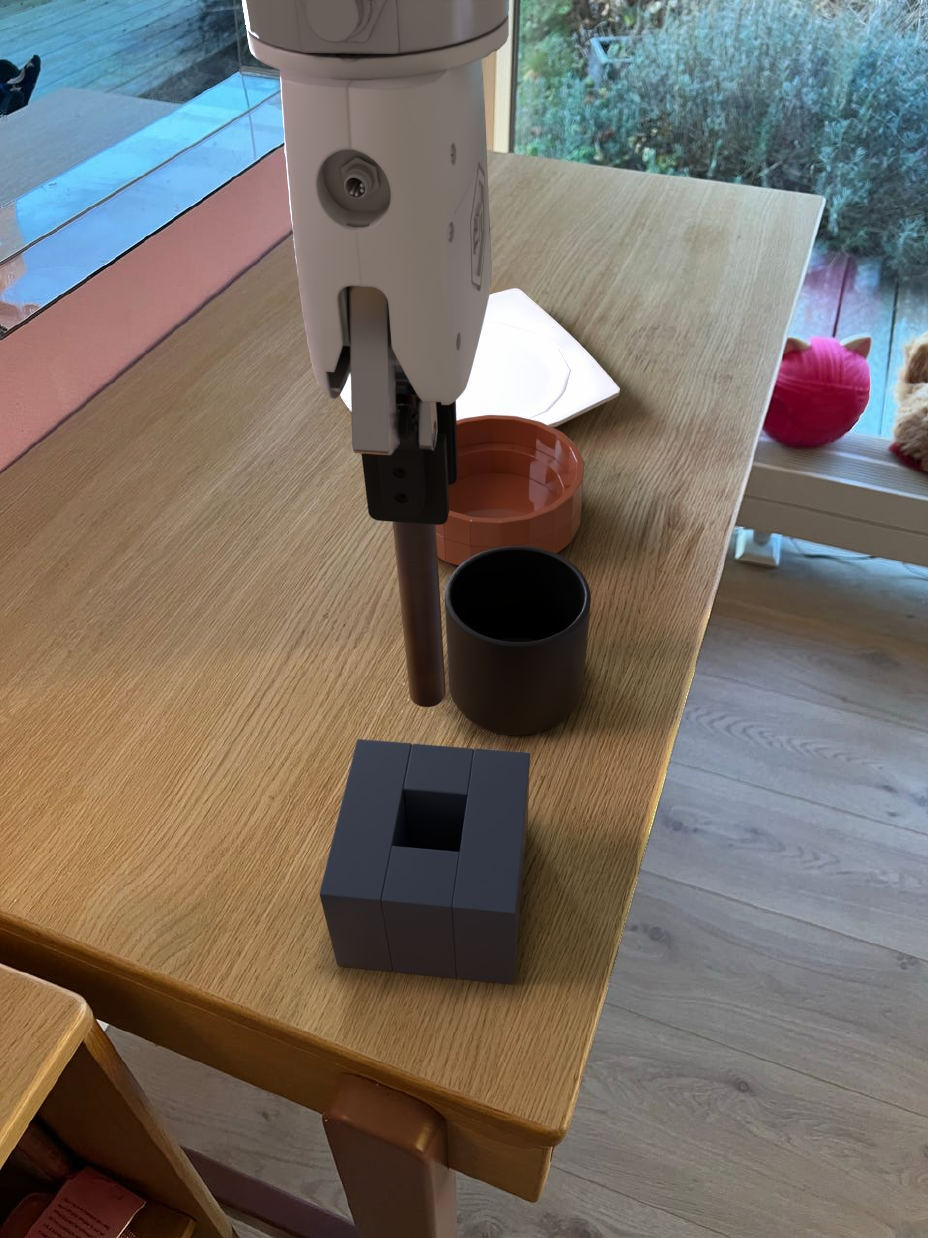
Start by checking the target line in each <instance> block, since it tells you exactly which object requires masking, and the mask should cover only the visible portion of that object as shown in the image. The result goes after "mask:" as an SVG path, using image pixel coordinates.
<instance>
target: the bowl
mask: <svg viewBox="0 0 928 1238" xmlns="http://www.w3.org/2000/svg"><path fill="white" fill-rule="evenodd" d="M457 446H458V475H457V480H456V482H455V483H454V484H451V485H448V489H449V515H448V519H447V521H446V522H445V523H444V524H441V525H436V538H437V555H438V559H440V560H442V561H444V562H445V563H449V564H452V565H456V566H458V567H459V566H460V565H461V564H462V563H463V562H465V561H466V560H468V559H469V558H471V557H472V556H474V555H476V554H479V553H481V552H484V551H487V550H490V549H494V548H498V547H505V546H529V547H536V548H541V549H544V550H548V551H551V552H553V553H556V554H558V553H559V552H560V551H562V550H563V549H565V548H566V547H567V546H568V545H570V544H571V542H572V541H573V539H574V537H575V535H576V534H577V532H578V530H579V528H580V526H581V516H582V503H583V491H584V477H585V475H584V474H585V460H584V458H583V457H582V454H581V451H580V450H579V447H578V445H577V444H576V443H575V442H573V441H572V440H571V439H570V438H569V437H568V436H567V435H565V434H564V432H563V431H560V430H558V429H557V428H555V427H553V428H552V427H550V426H548V425H546V424H544V423H542V422H539V421H535V420H531V419H526V418H522V417H518V416H505V415H484V416H477V417H469V418H463V419H460V420H457Z"/></svg>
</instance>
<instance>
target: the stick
mask: <svg viewBox="0 0 928 1238" xmlns="http://www.w3.org/2000/svg"><path fill="white" fill-rule="evenodd" d="M396 404H409V405H412V406H413V407H414V409H415V410H416V400H415V395H411V394H396ZM392 531H393V541H394V551H395V560H396V570H397V581H398V590H399V591H398V592H399V600H400V610H401V620H402V621H401V622H402V630H403V642H404V650H405V651H404V652H405V661H406V672H407V682H408V692H409V697H410V700H411V701H412V702H413V704H415V705H417V706H419V707H421V708H432V707H436V706H438V705H439V704H441V703H442V702H443V701H444V699H445V697H446V692H447V689H446V673H445V658H444V657H445V656H444V642H443V641H444V640H443V623H442V609H441V607H442V606H441V605H442V604H441V591H440V572H439V571H440V570H439V557H438V555H437V538H436V525H434V524H420V523H405V522H392Z"/></svg>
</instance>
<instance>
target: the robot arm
mask: <svg viewBox="0 0 928 1238" xmlns="http://www.w3.org/2000/svg"><path fill="white" fill-rule="evenodd" d="M241 1H242V9H243V14H244V21H245V25H246V26H245V28H246V34H247V40H248V41H247V42H248V46H249V51H250V53H251V55H253V57H254V58H255V59H256V60H258V61H259V62H261V63H263V64H264V65H267V66H268V67H271V68H273V69H276V70H279V82H280V95H281V111H282V125H283V138H284V146H283V152H284V156H285V162H286V163H285V164H286V176H287V186H288V187H287V188H288V198H289V209H290V218H291V228H292V236H293V237H292V239H293V247H294V255H295V256H294V257H295V264H296V272H297V282H298V289H299V295H300V296H299V297H300V304H301V310H302V311H301V312H302V317H303V325H304V330H305V336H306V342H307V347H308V351H309V358H310V362H311V366H312V371H313V374H314V378H315V381H316V384H317V386H318V388H320V390H321V391H322V392H323V393H324V394H325V395H326V396H327V397H329V398H330V399H333V400H335V399H336V400H337V398H339V397H340V394H341V392H342V390H343V388H344V386H345V384H346V382H347V379H348V377H349V374H350V373H351V410H352V412H351V444H352V446H351V447H352V452H353V453H354V454H360V455H361V461H362V463H361V464H362V469H363V471H362V472H363V479H364V487H365V495H366V504H367V511H368V512H367V513H368V515H369V516H370V518H371V519H372V520H375V521H379V522H391V523H393V522H405V523H420V524H434V525H441V524H444V523H445V522H446V521H447V519H448V515H449V489H448V485H451V484H454V483H455V482H456V480H457V475H458V446H457V419H456V400H457V399H458V398H459V397H460V396H461V394H462V393H463V392H464V391H465V389H466V387H467V384H468V381H469V377H470V374H471V370H472V366H473V362H474V358H475V354H476V350H477V346H478V342H479V338H480V334H481V330H482V326H483V322H484V317H485V313H486V308H487V304H488V299H489V295H490V293H491V287H492V274H493V273H492V271H493V262H492V260H493V259H492V242H491V241H492V239H491V220H490V218H491V217H490V197H489V196H490V195H489V175H488V172H489V171H488V170H489V169H488V143H487V121H486V119H487V118H486V101H485V87H484V73H483V72H484V71H483V63H482V62H483V61H482V59H485V58H487V57H489V56H490V55H491V54H492V53H494V52H497V51H499V50H500V49H501V48H502V47H503V46H504V45H505V44H506V43H507V42H508V38H509V36H510V35H509V33H510V32H509V31H510V28H509V27H510V26H509V25H510V21H509V19H510V15H509V12H510V0H241ZM396 394H411V395H415V400H416V410H415V409H414V407H413V406H412V405H409V404H396Z"/></svg>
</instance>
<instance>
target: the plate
mask: <svg viewBox="0 0 928 1238" xmlns="http://www.w3.org/2000/svg"><path fill="white" fill-rule="evenodd" d="M620 393H621V388H620V387H619V386H618V384H617V383H616V382H615V381H614V379H612V377H611V376H610V375H609V374H608V373H607V372H606V370H605V369H604V368H603V367H602V365H600V364H599V363H598V362H597V360H596V358H594V357H593V355H591V354H590V353H589V352H588V350H586V349H585V348H584V347H583V346H582V345H581V344H580V342H579V341H578V340H577V339H576V338H574V336H573V335H571V333H569V331H567V330H566V329H565V328H564V327H563V326H562V325H561V324H560V323H558V322H557V320H555V319H554V318H553V317H552V316H551V315H550V314H548V312H546V310H544V309H543V308H542V307H541V306H540V305H538V304H537V303H536V302H535V301H534V300H533V299H532V298H530V297H529V296H528V295H527V294H526V293H525V292H524V291H522V290H521V288H516V287H514V288H509V289H505V290H502V291H498V292H494V293H491V294H489V299H488V304H487V308H486V313H485V317H484V322H483V326H482V330H481V334H480V338H479V342H478V346H477V350H476V354H475V358H474V362H473V366H472V370H471V374H470V377H469V381H468V384H467V387H466V389H465V391H464V392H463V393H462V394H461V396H460V397H459V398H458V399H457V400H456V419H457V420H460V419H463V418H469V417H477V416H484V415H505V416H518V417H522V418H526V419H531V420H535V421H539V422H542V423H544V424H546V425H548V426H550V427H552V428H557V427H558V426H561V425H563V424H565V423H567V422H569V421H570V420H571V421H572V420H573V419H575V418H577V417H579V416H581V415H583V414H585V413H587V412H589V411H591V410H593V409H595V408H597V407H600V406H601V405H603V404H605V403H608V402H609V401H611V400H614V399H615V398H617V397H619V395H620ZM339 397H341V400H342V402H343V403H344V404H345V406H346V407H347V408H348V410H349V411H350V412H351V413H352V410H351V373H350V374H349V377H348V379H347V382H346V384H345V386H344V388H343V390H342V392H341V394H340V395H339Z"/></svg>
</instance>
